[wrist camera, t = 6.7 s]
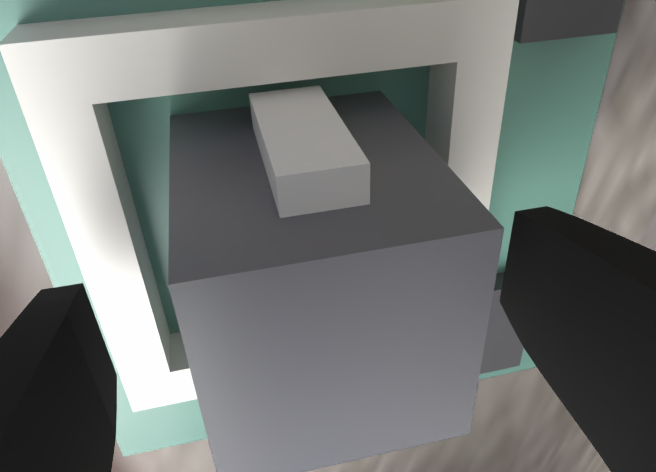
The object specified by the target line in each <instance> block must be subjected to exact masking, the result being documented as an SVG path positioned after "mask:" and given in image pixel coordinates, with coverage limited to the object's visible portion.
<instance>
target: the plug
mask: <svg viewBox="0 0 656 472" xmlns="http://www.w3.org/2000/svg"><path fill="white" fill-rule="evenodd" d="M249 100H250V106H247V107H239V108H231V109H222V110H214V111H206V112H197V113H189V114H180V115H172V116H170V146H169V251H168V286H169V290H170V294H171V298H172V302H173V306H174V309H175V313H176V317H177V321H178V325H179V329H180V333H181V337H182V341H183V344H184V348H185V352H186V356H187V360H188V364H189V368H190V372H191V376H192V380H193V383H194V387H195V391H196V395H197V399H198V403H199V407H200V411H201V415H202V418H203V422H204V426H205V430H206V434H207V438H208V442H209V446H210V450H211V453H212V457H213V461H214V465H215V469H216V472H306V471H311V470H315V469H319V468H324V467H328V466H332V465H337V464H341V463H345V462H350V461H354V460H358V459H363V458H367V457H371V456H376V455H380V454H384V453H389V452H393V451H397V450H401V449H406V448H410V447H414V446H419V445H423V444H427V443H432V442H436V441H440V440H445V439H449V438H453V437H458V436H462V435H466V434H470V428H471V422H472V416H473V410H474V405H475V399H476V393H477V387H478V381H479V375H480V369H481V363H482V357H483V351H484V346H485V340H486V334H487V328H488V322H489V316H490V310H491V304H492V298H493V293H494V287H495V281H496V275H497V269H498V263H499V257H500V251H501V245H502V239H503V234H504V227H503V226H502V225H501V224H500V223H499V222H498V221H497V219H496V218H495V217H494V216H493V215H492V214H491V213H490V212H489V211H488V209H487V208H486V207H485V206H484V205H483V204H482V203H481V202H480V201H479V199H478V198H477V197H476V196H475V195H474V194H473V193H472V192H471V191H470V189H469V188H468V187H467V186H466V185H465V184H464V183H463V182H462V181H461V179H460V178H459V177H458V176H457V175H456V174H455V173H454V172H453V171H452V169H451V168H450V167H449V166H448V165H447V164H446V163H445V162H444V161H443V159H442V158H441V157H440V156H439V155H438V154H437V153H436V152H435V151H434V149H433V148H432V147H431V146H430V145H429V144H428V143H427V142H426V141H425V139H424V138H423V137H422V136H421V135H420V134H419V133H418V132H417V131H416V129H415V128H414V127H413V126H412V125H411V124H410V123H409V122H408V121H407V119H406V118H405V117H404V116H403V115H402V114H401V113H400V112H399V111H398V109H397V108H396V107H395V106H394V105H393V104H392V103H391V102H390V101H389V99H388V98H387V97H386V96H385V95H384V94H383V93H382V92H381V91H373V92H364V93H356V94H348V95H339V96H331V97H327V96H326V95H325V93H324V92H323V90H322V88H321V87H320V85H319V86H310V87H301V88H293V89H284V90H275V91H267V92H258V93H249Z"/></svg>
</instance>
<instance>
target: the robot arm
mask: <svg viewBox="0 0 656 472" xmlns="http://www.w3.org/2000/svg"><path fill="white" fill-rule="evenodd" d="M500 303H501V305H502V307H503V309H504V311H505V313H506V315H507V317H508V319H509V321H510V323H511V325H512V327H513V329H514V331H515V333H516V335H517V337H518V338H519V340H520V342H521V344H522V346H523V347H524V349H525V351H526V352H527V354H528V355H529V356H530V358H531V359H532V361H533V362H534V364H535V365H536V367H537V368H538V369H539V371H540V372H541V374H542V375H543V376H544V378H545V379H546V381H547V382H548V384H549V385H550V386H551V388H552V389H553V391H554V392H555V393H556V395H557V396H558V397H559V399H560V400H561V402H562V403H563V404H564V406H565V407H566V409H567V410H568V411H569V413H570V414H571V415H572V417H573V418H574V420H575V421H576V422H577V424H578V425H579V427H580V428H581V429H582V431H583V432H584V434H585V435H586V436H587V438H588V439H589V440H590V442H591V443H592V445H593V446H594V447H595V449H596V450H597V452H598V453H599V454H600V456H601V457H602V459H603V460H604V462H605V463H606V465H607V466H608V468H609V469H610V471H611V472H656V251H654V250H651V249H649V248H647V247H644V246H642V245H640V244H638V243H635V242H633V241H631V240H628V239H626V238H624V237H622V236H619V235H617V234H615V233H613V232H610V231H608V230H606V229H604V228H601V227H599V226H597V225H594V224H592V223H590V222H587V221H585V220H583V219H580V218H578V217H575V216H573V215H570V214H568V213H565V212H563V211H560V210H557V209H554V208H551V207H548V206H544V207H538V208H532V209H526V210H520V211H515V214H514V219H513V225H512V231H511V237H510V243H509V248H508V254H507V260H506V266H505V272H504V277H503V283H502V289H501V295H500ZM116 419H117V374H116V371H115V369H114V366H113V363H112V360H111V358H110V355H109V352H108V350H107V347H106V344H105V341H104V339H103V336H102V333H101V330H100V328H99V325H98V322H97V320H96V317H95V314H94V311H93V309H92V306H91V303H90V301H89V298H88V295H87V292H86V290H85V287H84V284H83V283H79V284H73V285H67V286H61V287H55V288H49V289H43V290H41V291H40V292H39V293H38V294H37V295H36V296H35V297H34V298H33V300H32V301H31V302H30V303H29V304H28V305H27V307H26V308H25V309H24V310H23V311H22V313H21V314H20V315H19V316H18V317H17V319H16V320H15V321H14V322H13V323H12V325H11V326H10V327H9V328H8V329H7V331H6V332H5V333H4V334H3V335H2V337H1V338H0V472H111V468H112V461H113V454H114V447H115V439H116Z"/></svg>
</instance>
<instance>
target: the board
mask: <svg viewBox="0 0 656 472" xmlns="http://www.w3.org/2000/svg"><path fill="white" fill-rule="evenodd" d="M624 3H625V0H0V157H1V160H2V162H3V165H4V167H5V170H6V172H7V175H8V177H9V179H10V182H11V184H12V187H13V189H14V192H15V194H16V196H17V199H18V201H19V204H20V206H21V209H22V211H23V213H24V216H25V218H26V221H27V223H28V226H29V228H30V230H31V233H32V235H33V238H34V240H35V243H36V245H37V247H38V250H39V252H40V255H41V257H42V260H43V262H44V265H45V267H46V269H47V272H48V274H49V277H50V279H51V282H52V284H53V286H54V288H55V287H61V286H67V285H73V284H79V283H83V284H84V287H85V290H86V292H87V295H88V298H89V301H90V303H91V306H92V309H93V311H94V314H95V317H96V320H97V322H98V325H99V328H100V330H101V333H102V336H103V339H104V341H105V344H106V347H107V350H108V352H109V355H110V358H111V360H112V363H113V366H114V369H115V371H116V374H117V419H116V440H117V442H118V445H119V447H120V449H121V452H122V454H123V457H125V456H129V455H134V454H139V453H143V452H148V451H152V450H157V449H162V448H166V447H171V446H175V445H180V444H185V443H189V442H194V441H199V440H203V439H208V438H207V434H206V430H205V426H204V422H203V418H202V415H201V411H200V407H199V403H198V399H197V395H196V391H195V387H194V383H193V380H192V376H191V372H190V368H189V364H188V360H187V356H186V352H185V348H184V344H183V341H182V337H181V333H180V329H179V325H178V321H177V317H176V313H175V309H174V306H173V302H172V298H171V294H170V290H169V286H168V251H169V146H170V116H172V115H180V114H189V113H197V112H206V111H214V110H222V109H231V108H239V107H247V106H250V100H249V93H258V92H267V91H275V90H284V89H293V88H301V87H310V86H319V85H320V87H321V88H322V90H323V92H324V93H325V95H326V96H327V97H331V96H339V95H348V94H356V93H364V92H373V91H381V92H382V93H383V94H384V95H385V96H386V97H387V98H388V99H389V101H390V102H391V103H392V104H393V105H394V106H395V107H396V108H397V109H398V111H399V112H400V113H401V114H402V115H403V116H404V117H405V118H406V119H407V121H408V122H409V123H410V124H411V125H412V126H413V127H414V128H415V129H416V131H417V132H418V133H419V134H420V135H421V136H422V137H423V138H424V139H425V141H426V142H427V143H428V144H429V145H430V146H431V147H432V148H433V149H434V151H435V152H436V153H437V154H438V155H439V156H440V157H441V158H442V159H443V161H444V162H445V163H446V164H447V165H448V166H449V167H450V168H451V169H452V171H453V172H454V173H455V174H456V175H457V176H458V177H459V178H460V179H461V181H462V182H463V183H464V184H465V185H466V186H467V187H468V188H469V189H470V191H471V192H472V193H473V194H474V195H475V196H476V197H477V198H478V199H479V201H480V202H481V203H482V204H483V205H484V206H485V207H486V208H487V209H488V211H489V212H490V213H491V214H492V215H493V216H494V217H495V218H496V219H497V221H498V222H499V223H500V224H501V225H502V226H503V227H504V234H503V239H502V245H501V251H500V257H499V263H498V269H497V275H496V281H495V287H494V293H493V298H492V304H491V310H490V316H489V322H488V328H487V334H486V340H485V346H484V351H483V357H482V363H481V369H480V375H479V380H480V379H484V378H489V377H494V376H498V375H503V374H507V373H512V372H517V371H521V370H526V369H531V368H535V364H534V362H533V361H532V359H531V358H530V356H529V355H528V354H527V352H526V351H525V349H524V347H523V346H522V344H521V342H520V340H519V338H518V337H517V335H516V333H515V331H514V329H513V327H512V325H511V323H510V321H509V319H508V317H507V315H506V313H505V311H504V309H503V307H502V305H501V303H500V295H501V289H502V283H503V277H504V272H505V266H506V260H507V254H508V248H509V243H510V237H511V231H512V225H513V219H514V214H515V211H520V210H526V209H532V208H538V207H544V206H548V207H551V208H554V209H557V210H560V211H563V212H565V213H568V214H570V215H573V211H574V207H575V203H576V199H577V194H578V190H579V186H580V182H581V178H582V174H583V170H584V166H585V162H586V158H587V154H588V150H589V146H590V142H591V138H592V133H593V129H594V125H595V121H596V117H597V113H598V109H599V105H600V101H601V97H602V93H603V89H604V85H605V81H606V77H607V72H608V68H609V64H610V60H611V56H612V52H613V48H614V44H615V40H616V36H617V32H618V28H619V24H620V20H621V16H622V12H623V7H624Z"/></svg>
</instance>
